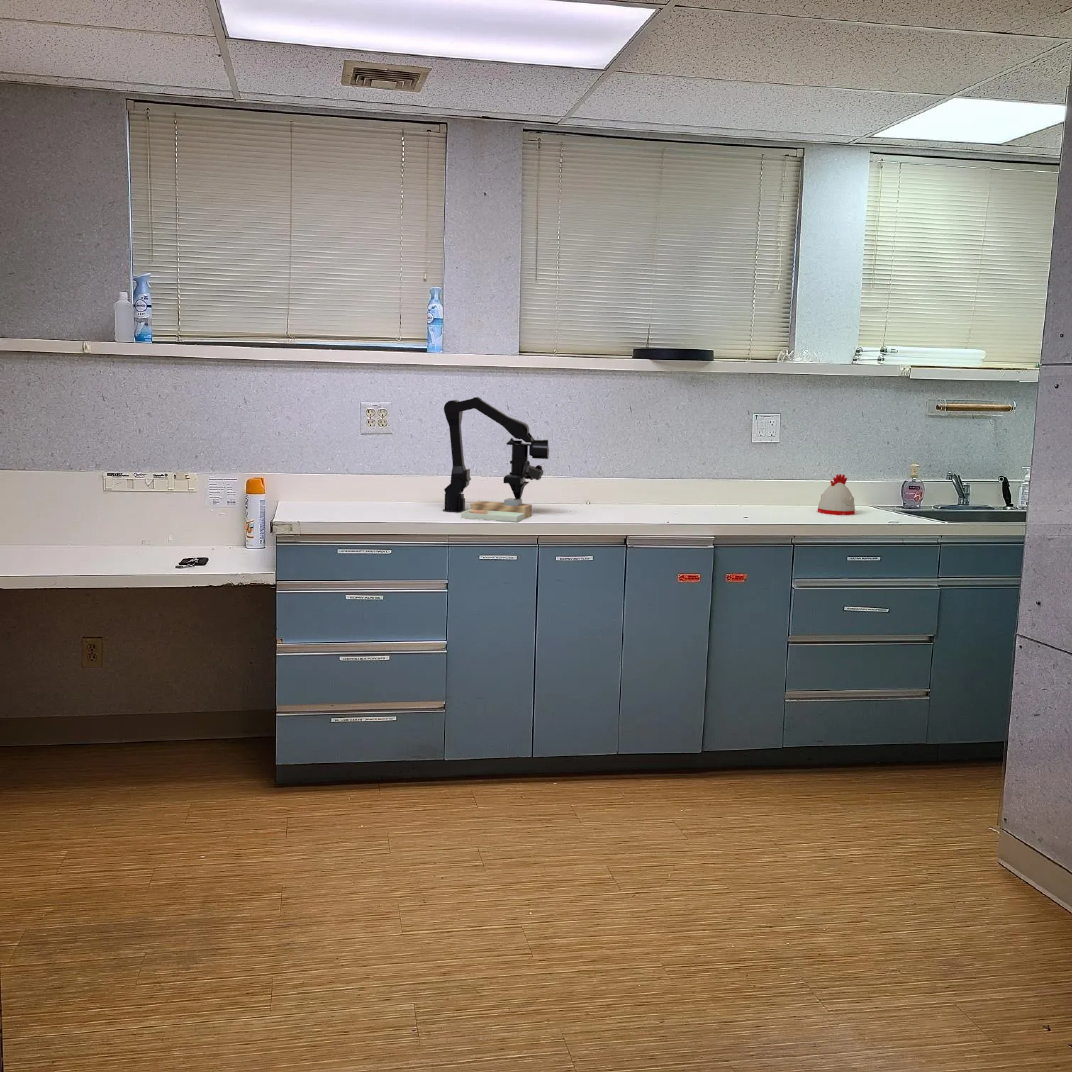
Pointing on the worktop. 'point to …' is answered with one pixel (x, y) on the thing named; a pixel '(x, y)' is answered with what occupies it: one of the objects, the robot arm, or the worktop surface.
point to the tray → (495, 516)
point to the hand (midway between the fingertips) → (518, 501)
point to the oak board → (502, 507)
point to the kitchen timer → (837, 498)
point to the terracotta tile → (479, 511)
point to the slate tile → (512, 502)
